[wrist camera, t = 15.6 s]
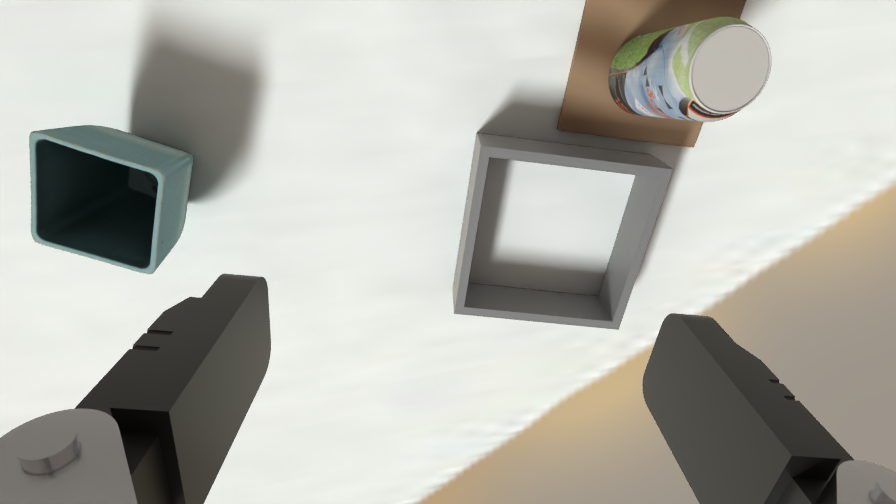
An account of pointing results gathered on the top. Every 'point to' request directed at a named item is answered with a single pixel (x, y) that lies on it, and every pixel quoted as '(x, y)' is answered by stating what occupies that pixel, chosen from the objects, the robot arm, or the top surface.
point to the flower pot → (108, 195)
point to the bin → (625, 251)
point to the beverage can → (691, 71)
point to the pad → (599, 39)
